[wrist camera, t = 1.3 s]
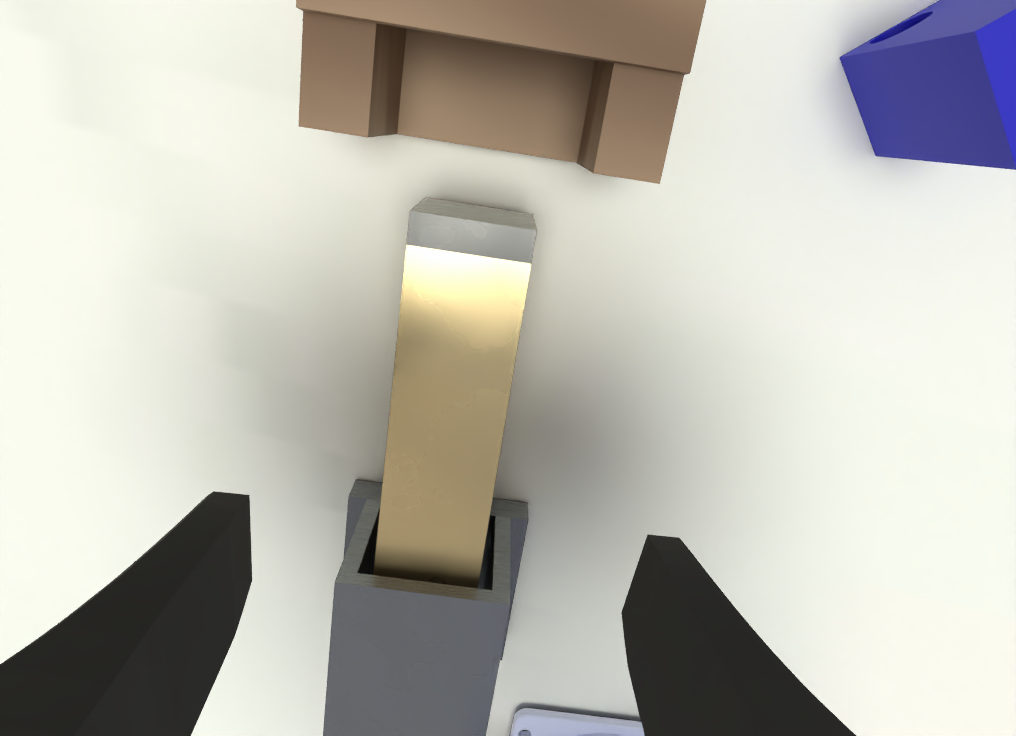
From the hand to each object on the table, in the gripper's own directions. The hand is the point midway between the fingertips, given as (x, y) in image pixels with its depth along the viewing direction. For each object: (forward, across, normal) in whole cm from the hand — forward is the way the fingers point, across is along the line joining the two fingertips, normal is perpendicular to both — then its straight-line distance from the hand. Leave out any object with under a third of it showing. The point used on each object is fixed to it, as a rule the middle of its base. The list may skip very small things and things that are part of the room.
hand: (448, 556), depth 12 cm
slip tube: (+8, 0, +3) cm, 9 cm away
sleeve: (+9, 0, +9) cm, 13 cm away
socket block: (+11, 0, -8) cm, 14 cm away
